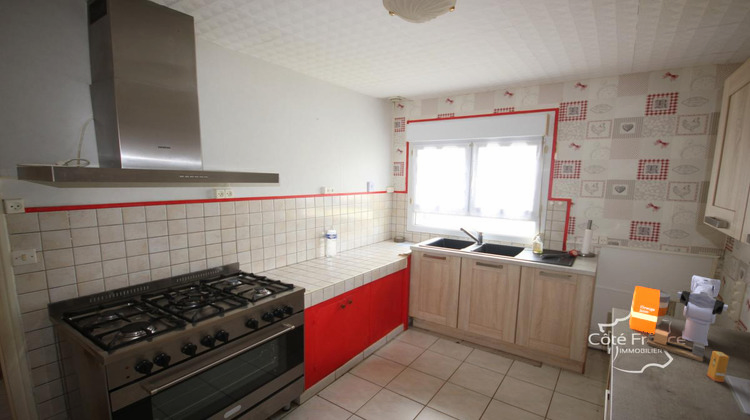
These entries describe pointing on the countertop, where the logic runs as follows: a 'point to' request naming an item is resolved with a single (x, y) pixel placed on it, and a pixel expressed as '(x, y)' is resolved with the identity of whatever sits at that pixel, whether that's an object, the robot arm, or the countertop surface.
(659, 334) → the tan small block
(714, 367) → the supplement box
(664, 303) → the reusable coffee cup
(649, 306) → the orange juice
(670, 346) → the cord board
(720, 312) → the robot arm
